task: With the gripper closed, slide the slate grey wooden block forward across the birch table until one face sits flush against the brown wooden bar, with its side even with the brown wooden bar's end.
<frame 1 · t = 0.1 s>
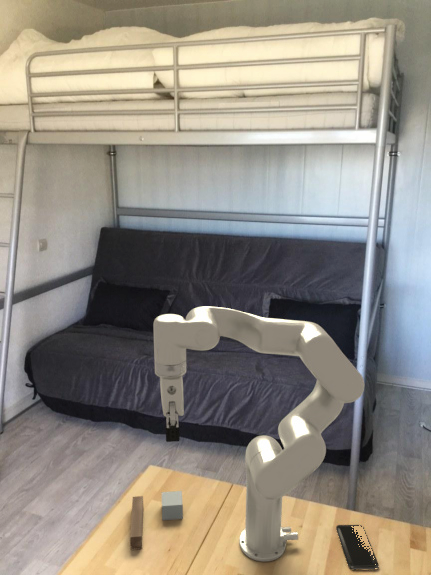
hand: (171, 429, 123), 37 cm above the table, tool pointing down, fingers open, 9 cm apart
brown wooden bar: (137, 527, 141), on the table
phone: (356, 549, 134), on the table
block: (172, 512, 147), on the table
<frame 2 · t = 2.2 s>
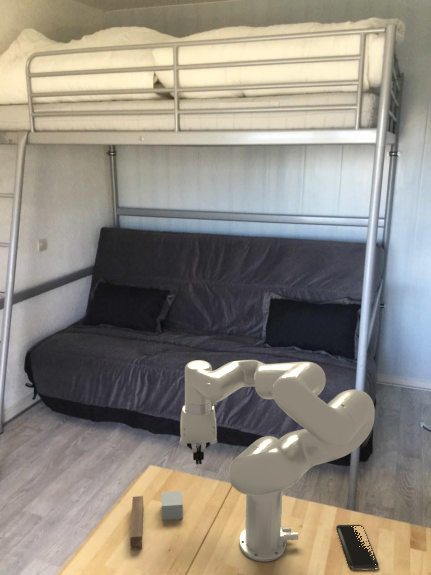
hand: (198, 461, 143), 17 cm above the table, tool pointing down, fingers closed
nothing on the table moved.
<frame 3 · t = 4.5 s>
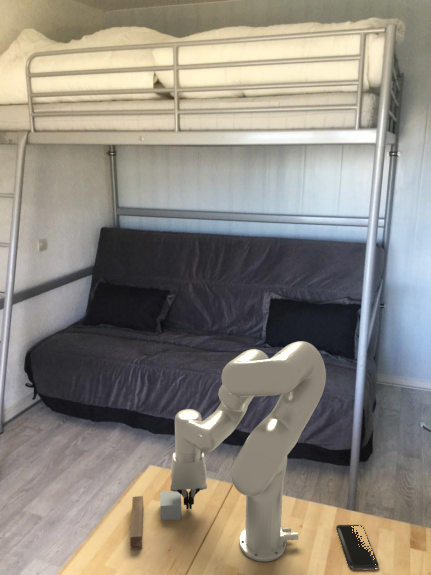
hand: (188, 505, 147), 2 cm above the table, tool pointing down, fingers closed
block: (170, 512, 147), on the table, touching gripper
everything else where it was.
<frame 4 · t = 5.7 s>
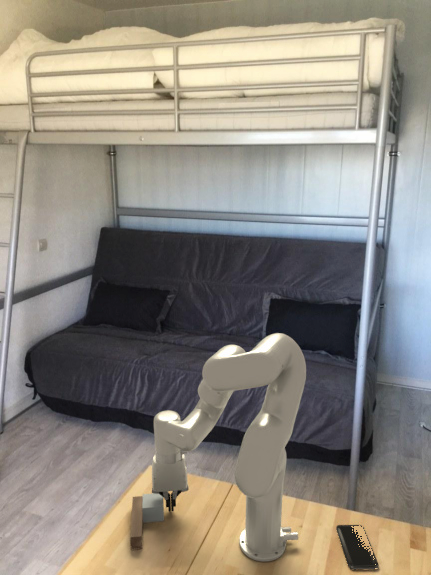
hand: (171, 508, 146), 1 cm above the table, tool pointing down, fingers closed
block: (153, 514, 146), on the table, touching brown wooden bar, gripper
everything else where it was.
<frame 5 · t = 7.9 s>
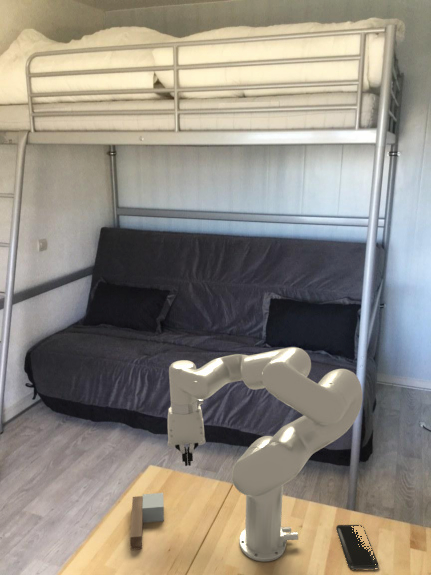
hand: (187, 463, 142), 17 cm above the table, tool pointing down, fingers closed
block: (153, 514, 146), on the table
everything else where it was.
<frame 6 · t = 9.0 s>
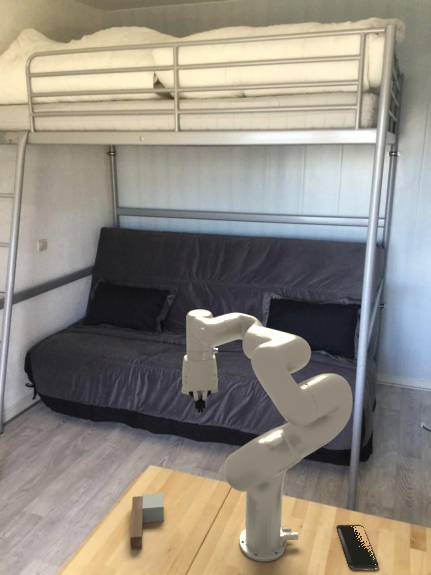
hand: (200, 410, 147), 29 cm above the table, tool pointing down, fingers closed
nothing on the table moved.
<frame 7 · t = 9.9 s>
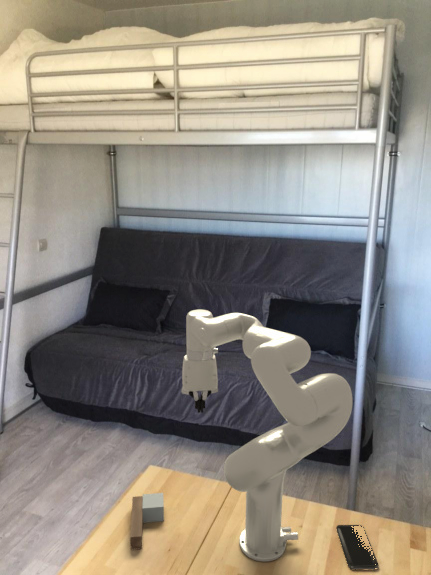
hand: (200, 410, 147), 29 cm above the table, tool pointing down, fingers closed
nothing on the table moved.
at the end: block 0.5 cm from the target spot on the table beside the brown wooden bar, on the table; block tilted 0°; block moved 5.5 cm from its start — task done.
